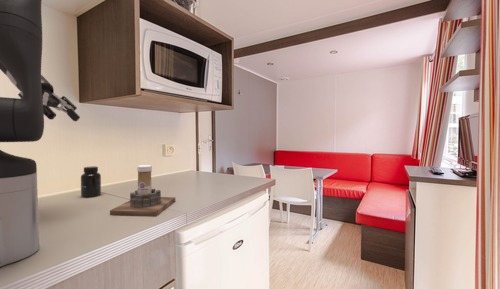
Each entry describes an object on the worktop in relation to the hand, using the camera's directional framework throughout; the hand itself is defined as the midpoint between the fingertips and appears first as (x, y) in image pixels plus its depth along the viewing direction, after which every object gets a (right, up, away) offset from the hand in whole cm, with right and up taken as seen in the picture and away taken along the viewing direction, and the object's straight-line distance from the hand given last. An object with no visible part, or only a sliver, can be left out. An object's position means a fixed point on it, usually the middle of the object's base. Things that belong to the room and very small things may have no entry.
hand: (66, 118), depth 70 cm
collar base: (+21, -30, +8) cm, 38 cm away
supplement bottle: (-9, -30, +23) cm, 39 cm away
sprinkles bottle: (+21, -29, +8) cm, 37 cm away
